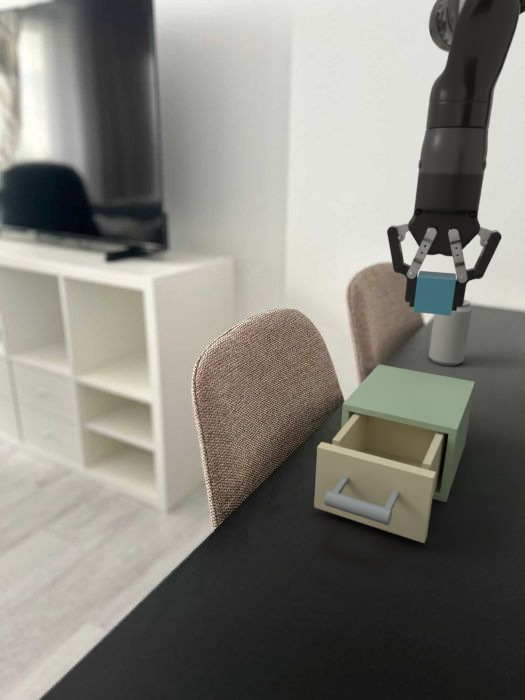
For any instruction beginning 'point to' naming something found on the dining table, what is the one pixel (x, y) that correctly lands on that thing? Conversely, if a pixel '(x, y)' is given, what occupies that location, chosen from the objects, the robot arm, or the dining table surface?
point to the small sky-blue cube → (435, 292)
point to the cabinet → (418, 409)
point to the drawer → (381, 474)
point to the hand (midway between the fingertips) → (432, 307)
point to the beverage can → (450, 336)
